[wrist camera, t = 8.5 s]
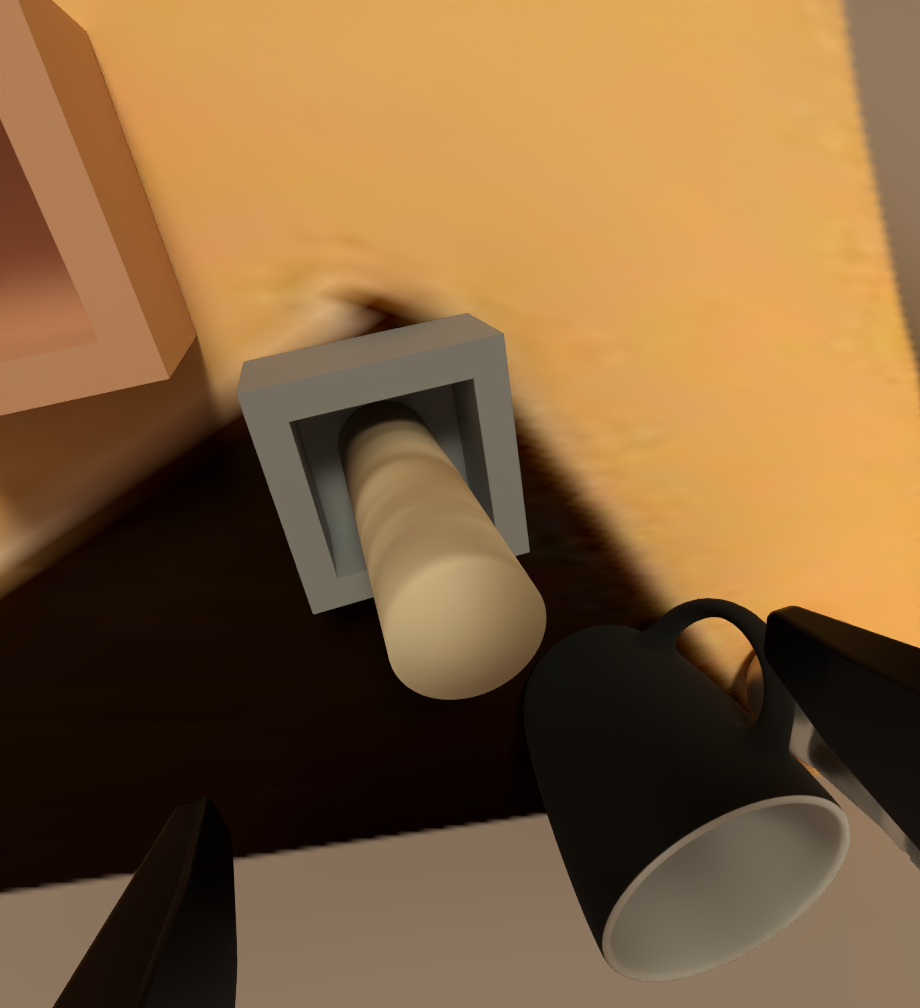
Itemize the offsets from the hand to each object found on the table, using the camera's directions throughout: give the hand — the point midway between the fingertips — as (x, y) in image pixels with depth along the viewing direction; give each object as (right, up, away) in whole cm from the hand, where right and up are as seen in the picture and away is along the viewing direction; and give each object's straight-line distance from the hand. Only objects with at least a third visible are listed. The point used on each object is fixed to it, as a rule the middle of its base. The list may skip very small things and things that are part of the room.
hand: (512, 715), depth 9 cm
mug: (+6, -3, +18) cm, 19 cm away
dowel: (-3, +5, +10) cm, 12 cm away
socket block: (-3, +5, +11) cm, 13 cm away
